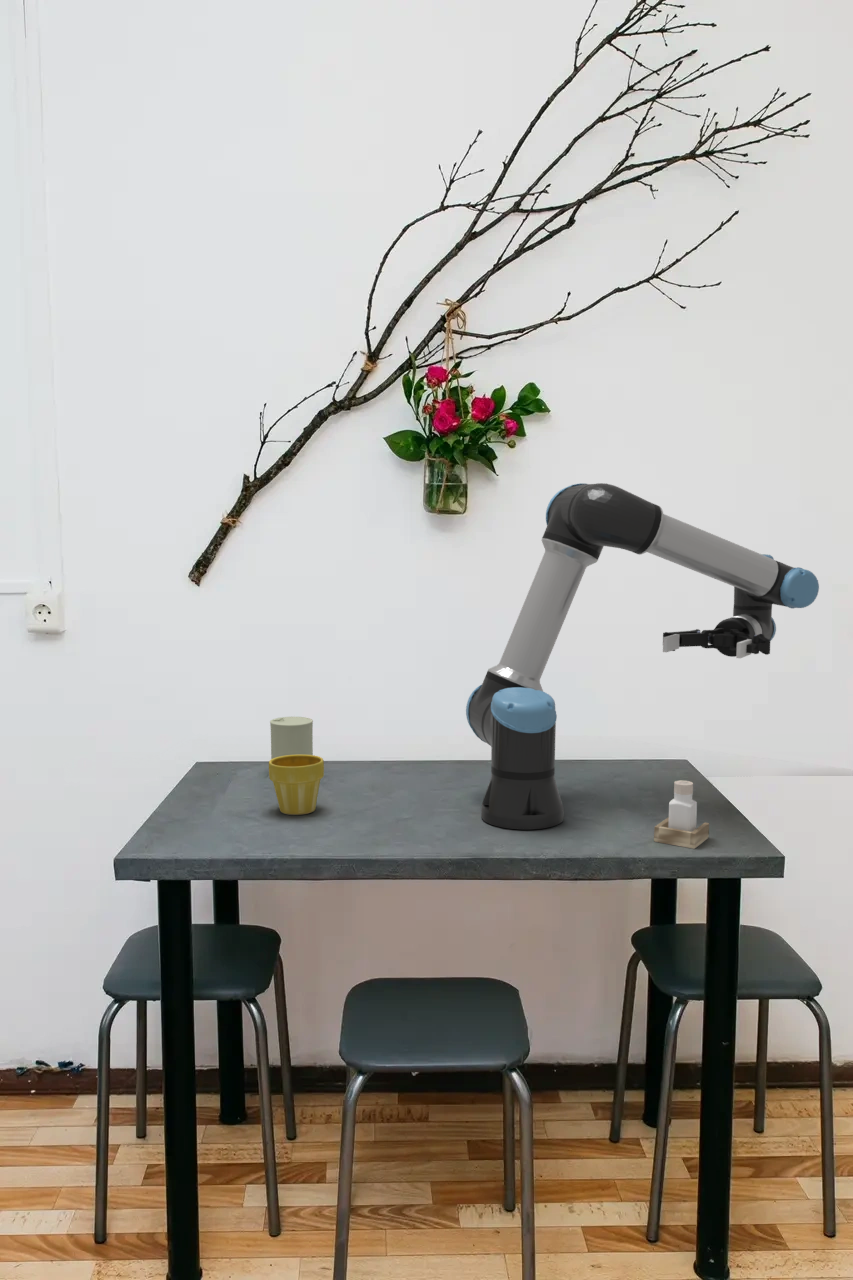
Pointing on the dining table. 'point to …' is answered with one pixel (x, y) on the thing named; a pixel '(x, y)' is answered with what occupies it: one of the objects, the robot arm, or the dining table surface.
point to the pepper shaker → (683, 807)
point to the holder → (680, 835)
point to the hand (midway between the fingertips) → (701, 647)
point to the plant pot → (296, 782)
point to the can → (291, 736)
